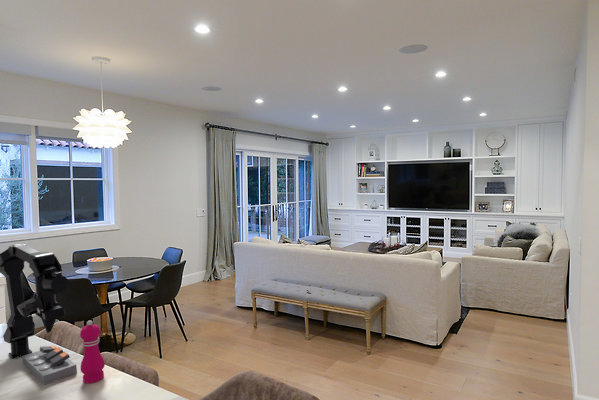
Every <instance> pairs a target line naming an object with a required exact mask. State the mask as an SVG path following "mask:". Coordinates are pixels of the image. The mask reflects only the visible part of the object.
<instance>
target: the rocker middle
mask: <svg viewBox="0 0 599 400" xmlns="http://www.w3.org/2000/svg"><path fill="white" fill-rule="evenodd" d="M63 352H64V350H63V349H62V348H61V347H57V348H56V349H54V350H53V351H51V352H49V353H47V354H45V355H44V357H45V358H46V359H47V360H48V361H50V359H52V358H54V357H56V356H58V355H59V354H61V353H63Z"/></svg>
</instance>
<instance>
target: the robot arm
mask: <svg viewBox="0 0 599 400" xmlns="http://www.w3.org/2000/svg"><path fill="white" fill-rule="evenodd" d="M25 262H26V263H28V265H29V266H28V267H29V269H30V270H31V271H32V272H33V273H32V277H34V285H35V292H34V293H33V297H31V298H30V299H27V300H26V301H25V297H24V289H23V284H22V283H23V282H22V275H21V274H22V273H23V271H24V269H25ZM62 267H63V266H62V265H61V263H60V261H59V259H58V258H57V256H56V254H54V253H53V252H49V251H38V250H36V249H34V248H32V247H30V246H28V245H27V244H26V243H23V242H22V243H16V244H11V245H10V246H9V247H7V249H5V250H4V251H2V252H0V274H1V275H2V276H3V277H4V278H5V282H6V290H7V296H8V303H9V309H10V310H9V311H10V316H9V318H8V320H7V321H6V330H5V332H4V334H3V336H2V338H3V341H4V342H6V343H8V344H10V352H9V353H8V354H7V355H8V356H9V357H10V358H11V359H13V360H14V359H17V358H20V357H21V358H22V356H24V355H27V354H31V353H33V350H31V349H30V344H29V343H30V342H29V337H34V335H35V329H36V328H35V327H36V323H35V322H34V317H33V316H32V315H30V313H32V312H34V311H37V312H35V315H36V316H37V317H39V318H40V319H41V320H42V323H43V326H44V329H45V330H46V331H45V332H46V333H51V332H52V330H53V328H54V324H55V323H56V321H57V318H60V317H63V316H65V315H66V309H65V308H64V307H62V306H60V305H59V302H58V301H57V300H56V297H57V296H56V295H58V293H59V294H60V293H63V292H65V291H66V290H67V288H68V287H69V280H68V277H66V276H64V275H63V273H62V272H63V270H62Z"/></svg>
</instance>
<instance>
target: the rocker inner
mask: <svg viewBox="0 0 599 400" xmlns="http://www.w3.org/2000/svg"><path fill="white" fill-rule="evenodd" d="M56 348H58V347H57V346H56V345H52V346H51V345H48V346H47V345H46V346H40V347H39V351H41V352H42V353H49V352H51V351H53V350H54V349H56Z"/></svg>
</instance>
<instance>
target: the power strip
mask: <svg viewBox="0 0 599 400" xmlns="http://www.w3.org/2000/svg"><path fill="white" fill-rule="evenodd" d="M45 354H47V353H42V352H41V351H40V350H37V351H34V352H32V353H31V354H27V355H24V356H21V358H22V360H21V361H22V365H23V366H24V367H25V368H26V369H27V370H28V371H29V372H30V373H32V375H33V376H34V377H36V378H37V379H38V380H39V382H40V383H41V384H42V385H43V386H45V385H48V384H51V383H53V382H56V381H58V380H61V379H64V378H68V377H70V376H72V375H75V374H77V373H78V369H77V368H78V367H77V364H76V363H75V362H74V361H72V360H71V359H70V358H68V359H66V360H65V362H64V363H63V364H60V363H59V364H58V365H56V366H54V365H53V364H52V363H51V362H50V361H48V360H47V359H46V358H45V357H44V355H45Z"/></svg>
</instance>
